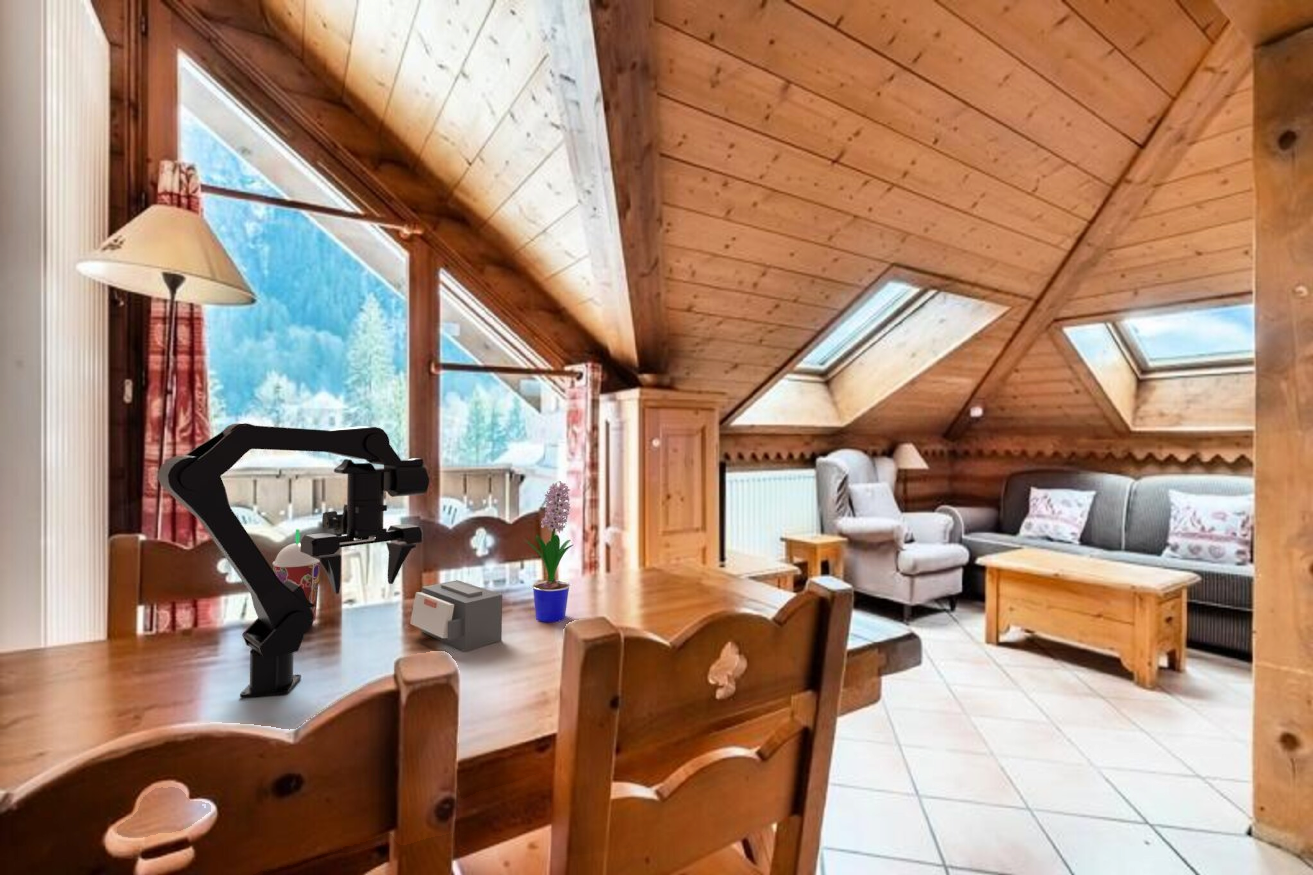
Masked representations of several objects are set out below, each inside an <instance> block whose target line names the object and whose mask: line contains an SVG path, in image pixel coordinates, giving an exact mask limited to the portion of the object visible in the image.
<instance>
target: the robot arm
mask: <svg viewBox="0 0 1313 875" xmlns="http://www.w3.org/2000/svg"><path fill="white" fill-rule="evenodd" d="M251 450H269V451H271V450H272V451H291V452H292V451H294V452H295V451H298V452H317V453H318V452H319V453H320V452H322V453H329V454H332V455H337V456H341V457H345V459H343V461H341V462H342V463H340V464H339V465H338V466H337V467H335V468H334V469H333V472H334V473H337V474H342V475H347V481H346V484H347V487H346V488H347V489H346V490H347V492H346V494H347V495H346V497H347V498H346V499H347V501H346V503H344V504H343V505H344V506H343V512H342V513H340V514H338V512H337V511H336V510H331V511H324V512H323V513H322V517H321V518H322V520H321V525H322V530H323V532H321V533H313V534H312V533H311V534H304V535H303V537H302V538H301V540H300V543H301V549H300V552H303V553H305V554H308V555H310V556H311V557H313V558H316V559H318V560H319V561H320V564H321V565H322V567H323V569H324V571H325V573H326V575H327V578H328V581H329V582H330V586H331V588H332V591H333V593H334V594H335V595H338V594H340V589H341V576H342V575H341V572H342V571H341V570H342V569H341V568H342V555H341V554H338V553H337V552H339V550H340V549H341V548H346V547H355V546H362V545H369V544H377V543H384V542H386V543H385V544H386V547H387V550H388V559H387V560H388V562H387V582H388V584H390V585H393V584H394V583H395V580H396V578H397V576H398V574H399V572H400V571H401V567H402V565H403V564H404V562H405V560H406V558H407V557H408V555H409V553H410V552H411V550H412V549H416V548H417V544H418V543H423V542H424V531H423V529H422V527H421V526H419V525H414V524H412V523H403V524H393V525H390V526H389V528H388V529H387V528H385V527H384V513H385V512H386V511H388V504H385V501H384V497H385V496H384V494H385V492H387V494H388V495H389V496H390V497H392V498H394V497H407V496H422V495H425V494H426V493H427V491H428V489H429V487H430V486H429V485H430V477H429V475H428V471H427V469H426V467H425V465H424V459H423V458H415V457H414V458H413V457H412V458H409V459H401V458H400V457H399V455H398V454H397V453H396V451H395V450H394V448H393V447H392V445H391V443H390V438H389V436H388V434H387V433H386V431H385V430H384V429H382V428H381V427H377V426H351V427H340V428H334V429H333V428H332V429H313V428H312V429H311V428H298V427H297V428H295V427H284V426H283V427H282V426H281V427H280V426H268V425H267V426H266V425H255V424H252V423H246V422H245V423H243V422H241V423H240V422H239V423H238V422H236V423H232V424H229V425H227V426H226V427H225V428H224V429H223V430H222V431H220V432H219V433H218V434H216V435H215V436H213V437H211V438H210V439H208V440H206V441H205V442H203V443H201V444H200V445H198V446H197V447H195V448H193V449H192V450H191V451H190V452H188V453H186V454H185V455H183V454H182V455H176V456H173V457H170V458H169V459H167V460H166V461H164V462H163V464H162V465H161V466H160V468H159V471H158V474H157V479H158V482H159V484H160V486H161V487H162V488H163V490H164V491H165V492H167V493H168V494H169V495H170V496H171V497H173V499H175V500H176V501H177V502H178V503H179V504H180V505H181V506H182V507H183V508H185V509H186V510H187V511H188V512H189V513H191V514H192V515H193V516H195V518H197V519H198V521H199V522H200V523H201V525H202V526H203V528H204V529H205V531H206V532H207V533H208V535H209V536H210V537H211V539H212V541H213V542H214V543H215V544H216V546H217V547H218V549H219V550H220V552H221V553H222V555H223V556H224V557H225V559H226V560H227V562H228V563H229V564H230V566H231V567H232V568H233V570H234V571H235V573H236V574H237V576H238V577H239V578H240V580H241V581H242V583H243V584H244V585H245V587H246V588H247V589H248V591H249V594H250V596H251V601H252V605H253V608H254V611H255V613H256V616H257V618H256V619H255V620H254V622H252V623H251V624H250V625H249V627H248V628H246V630H244V631H243V633H242V638H243V641H244V642H245V645H246V646H247V647H250V648H251V649H250V651H249V684H248V685H247V686H246V687H245V688H244V689H243V690H242V691H241V692H240V693H239V697H240V698H249V697H250V698H251V697H265V696H276V695H277V696H279V695H286V694H289V693H290V691H291V690H293V688H294V687H295V685H296V684H297V683H298V682H299V680H301V678H302V674H294V653H296V652H298V651H299V649H300V647H301V644H302V642H303V639H304V637H305V635H306V633H308V632H309V631H310V629H311V628H312V627H313V625H312V623H313V624H314V621H313V620H314V614H313V611H312V610H311V607H314V606H315V605H314V604H312V603H310V602H309V601H308V600H307V598H306V595H305V593H304V590H303V589H302V587H301V586H299V585H297V584H295V583H293V582H291V581H289V580H286V581H285V582H284V583H282V582H281V581H280V580H279V579H278V577H277V576H276V574H275V573H274V570H273V568H272V567H271V565H270V564H269V562H268V561H267V560H266V558H265V557H264V555H263V554H262V551H260V549H259V548H258V546H257V545H256V543H255V541H254V540H253V539H252V538H251V536H250V534H249V532H247V530H246V529H245V527H244V526H243V524H242V523H241V521H240V520H239V518H238V517H237V515H236V514H235V513H234V510H233V509H232V508H231V506H230V503H229V497H228V494H227V491H226V490H227V489H226V486H225V485H224V480H222V475H224V474H225V473H226V472H228V471H229V470H230V469H231V468H232V467H233V466H234V465H235V464H237V463H238V462H239V460H241V458H243V457H244V456H245V454H247V453H248V452H249V451H251ZM346 458H347V459H346ZM348 458H351V459H348ZM352 459H357V460H365V461H366V462H365V463H364V462H363V463H361V462H360V463H358V462H357V463H355V462H354V461H353V460H352ZM374 464H375V465H382V466H383V468H381V467H380V468H379V467H378V468H375V466H374ZM331 531H333V534H332V533H329V532H331ZM311 626H312V627H311Z"/></svg>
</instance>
